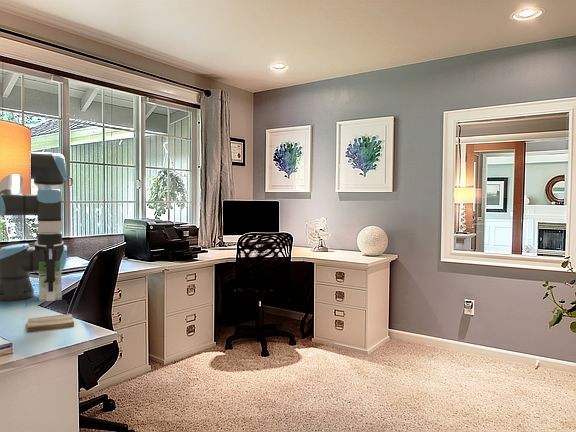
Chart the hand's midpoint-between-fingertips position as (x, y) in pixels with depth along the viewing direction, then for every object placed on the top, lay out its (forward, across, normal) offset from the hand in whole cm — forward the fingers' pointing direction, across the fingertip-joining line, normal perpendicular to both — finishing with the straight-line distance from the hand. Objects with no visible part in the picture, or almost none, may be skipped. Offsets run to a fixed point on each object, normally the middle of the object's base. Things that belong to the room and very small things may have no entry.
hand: (50, 299), depth 152 cm
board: (+9, 0, 0) cm, 9 cm away
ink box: (0, 0, 0) cm, 0 cm away
